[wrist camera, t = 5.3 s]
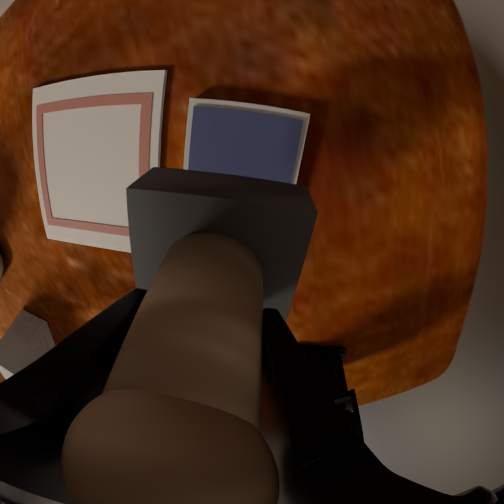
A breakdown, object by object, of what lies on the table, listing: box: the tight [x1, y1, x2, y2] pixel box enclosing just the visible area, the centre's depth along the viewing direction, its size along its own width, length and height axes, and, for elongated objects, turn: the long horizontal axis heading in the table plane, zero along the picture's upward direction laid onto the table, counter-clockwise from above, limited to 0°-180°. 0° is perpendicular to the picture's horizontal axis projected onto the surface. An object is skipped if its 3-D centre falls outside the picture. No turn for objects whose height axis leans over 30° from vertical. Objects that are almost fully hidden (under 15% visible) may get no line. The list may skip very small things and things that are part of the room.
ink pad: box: [183, 98, 310, 184], centre depth 18 cm, size 8×11×2 cm
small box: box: [0, 309, 56, 379], centre depth 27 cm, size 8×6×10 cm
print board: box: [32, 70, 167, 253], centre depth 18 cm, size 13×15×1 cm
